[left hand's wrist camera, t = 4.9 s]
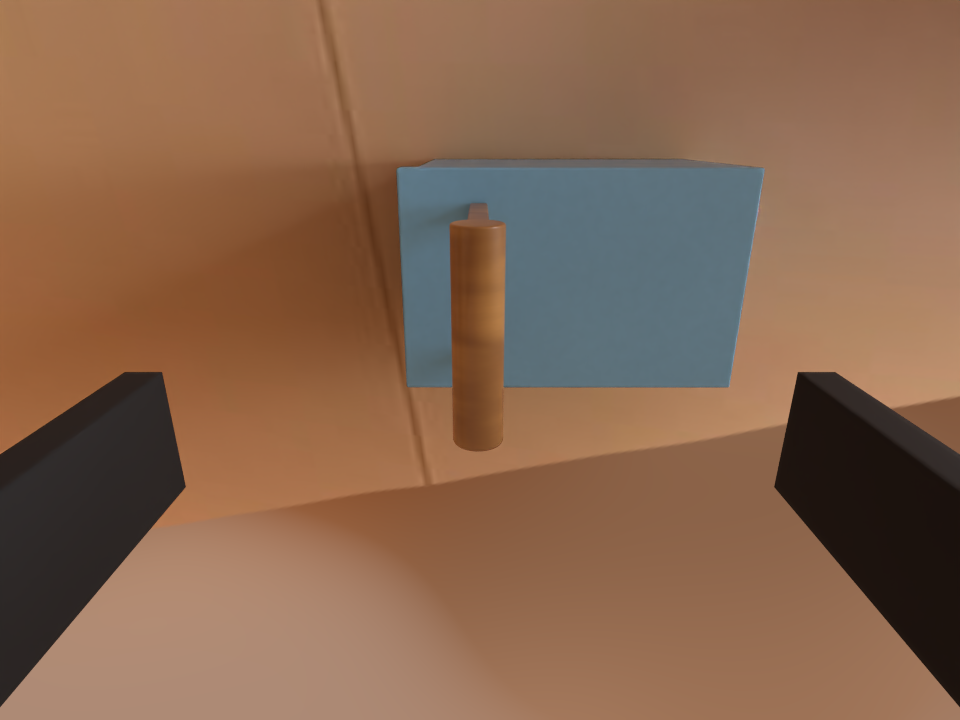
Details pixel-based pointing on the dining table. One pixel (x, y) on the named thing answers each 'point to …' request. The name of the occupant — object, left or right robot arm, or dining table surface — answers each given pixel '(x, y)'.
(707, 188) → the lid
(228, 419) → the dining table surface
